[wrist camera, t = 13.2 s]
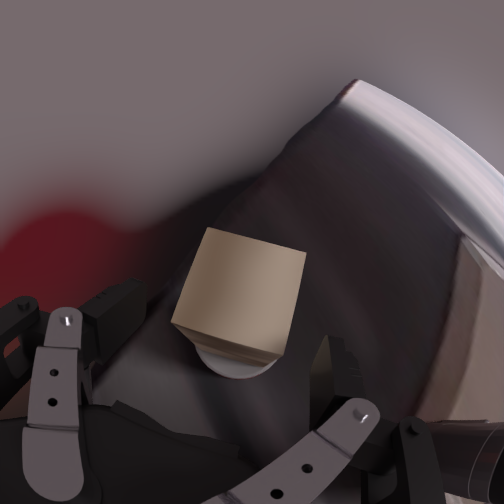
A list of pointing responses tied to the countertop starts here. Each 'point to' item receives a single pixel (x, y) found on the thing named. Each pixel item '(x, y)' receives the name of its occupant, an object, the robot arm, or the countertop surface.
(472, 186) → the countertop surface
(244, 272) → the oak block
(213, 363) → the canned food
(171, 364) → the countertop surface
